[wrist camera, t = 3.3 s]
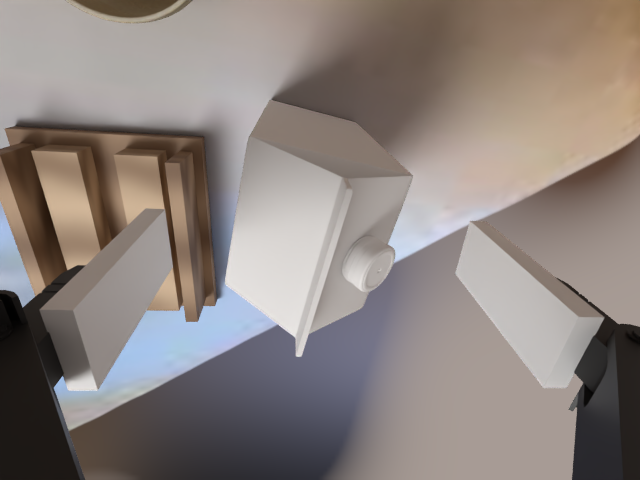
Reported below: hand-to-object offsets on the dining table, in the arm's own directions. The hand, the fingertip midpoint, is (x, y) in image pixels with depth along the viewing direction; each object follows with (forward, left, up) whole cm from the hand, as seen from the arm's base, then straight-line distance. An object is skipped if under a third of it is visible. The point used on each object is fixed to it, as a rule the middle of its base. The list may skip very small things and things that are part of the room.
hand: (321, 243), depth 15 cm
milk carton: (0, 0, -16) cm, 16 cm away
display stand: (+7, -15, -16) cm, 23 cm away
